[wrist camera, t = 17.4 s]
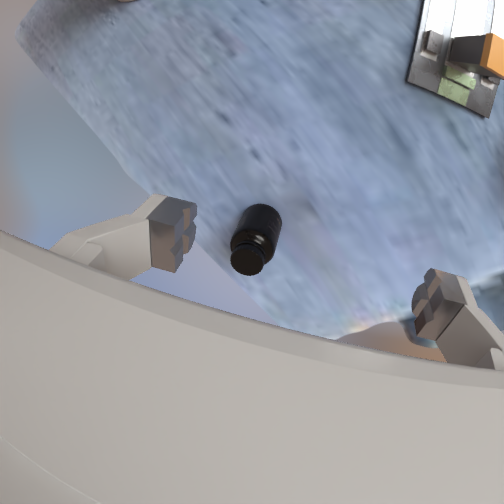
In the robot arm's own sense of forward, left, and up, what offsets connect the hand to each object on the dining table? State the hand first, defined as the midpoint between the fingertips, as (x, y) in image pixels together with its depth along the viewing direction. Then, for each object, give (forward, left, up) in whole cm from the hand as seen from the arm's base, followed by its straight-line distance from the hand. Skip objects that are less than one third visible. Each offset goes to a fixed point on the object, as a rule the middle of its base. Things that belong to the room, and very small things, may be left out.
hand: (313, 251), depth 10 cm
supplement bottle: (+18, -14, -37) cm, 44 cm away
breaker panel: (-11, +24, -37) cm, 45 cm away
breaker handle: (-6, +21, -35) cm, 41 cm away
